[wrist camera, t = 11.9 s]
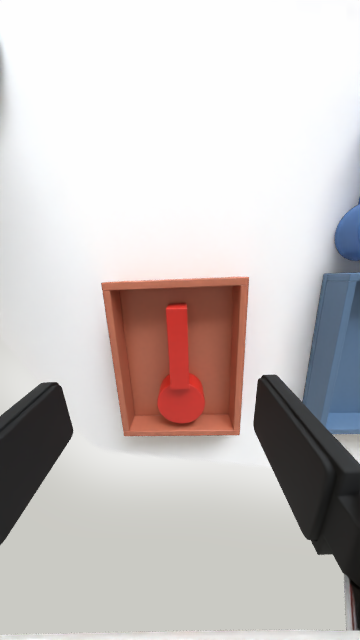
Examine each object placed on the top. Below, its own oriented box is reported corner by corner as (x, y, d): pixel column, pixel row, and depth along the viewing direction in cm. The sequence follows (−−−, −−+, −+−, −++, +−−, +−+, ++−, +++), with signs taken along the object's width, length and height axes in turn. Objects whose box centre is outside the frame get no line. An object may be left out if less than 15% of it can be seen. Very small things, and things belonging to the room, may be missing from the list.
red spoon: (203, 407, 18) (206, 429, 15) (161, 408, 18) (157, 429, 16) (202, 302, 15) (205, 307, 13) (153, 304, 15) (147, 309, 13)
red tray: (113, 281, 15) (100, 282, 13) (238, 276, 15) (249, 277, 13) (131, 416, 19) (123, 436, 17) (232, 414, 19) (239, 435, 16)
